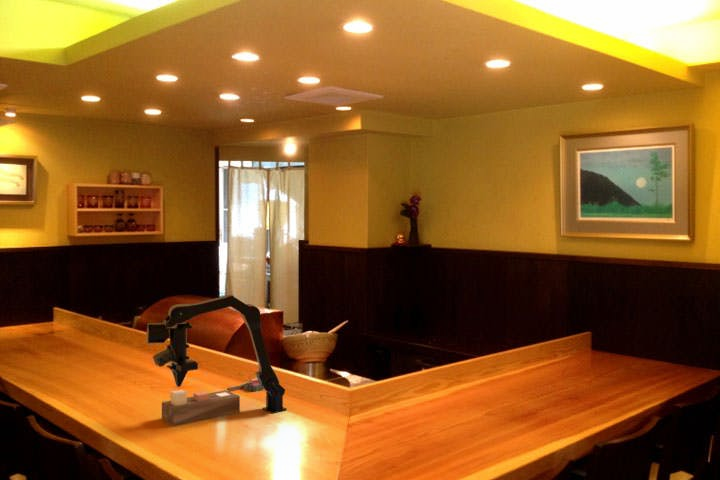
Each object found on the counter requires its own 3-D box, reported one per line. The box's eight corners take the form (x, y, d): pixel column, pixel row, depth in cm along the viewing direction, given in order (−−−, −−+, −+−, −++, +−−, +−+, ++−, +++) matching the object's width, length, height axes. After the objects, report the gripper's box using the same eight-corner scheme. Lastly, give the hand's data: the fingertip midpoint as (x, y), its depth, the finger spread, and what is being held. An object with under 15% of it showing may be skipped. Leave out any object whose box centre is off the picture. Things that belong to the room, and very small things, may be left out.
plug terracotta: (209, 409, 246) (209, 393, 246) (198, 411, 243) (198, 395, 243) (203, 407, 249) (203, 391, 249) (193, 409, 246) (193, 393, 246)
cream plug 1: (186, 408, 240) (186, 392, 240) (175, 410, 238) (175, 394, 238) (181, 406, 244) (181, 389, 243) (170, 408, 241) (170, 391, 241)
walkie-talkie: (266, 383, 293) (225, 392, 279) (266, 373, 292) (225, 381, 279) (279, 387, 286) (237, 396, 273) (279, 376, 286) (237, 385, 272)
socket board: (239, 412, 250) (239, 396, 250) (174, 426, 235) (173, 408, 234) (226, 406, 258) (226, 390, 258) (161, 419, 242) (161, 402, 242)
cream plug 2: (230, 410, 251) (230, 394, 251) (220, 412, 249) (220, 396, 249) (225, 407, 254) (225, 392, 254) (215, 409, 252) (215, 394, 252)
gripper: (144, 340, 242) (145, 384, 242) (167, 349, 227) (167, 396, 228) (175, 336, 249) (175, 379, 250) (198, 344, 234) (199, 390, 235)
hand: (178, 386), depth 240 cm, fingers closed
